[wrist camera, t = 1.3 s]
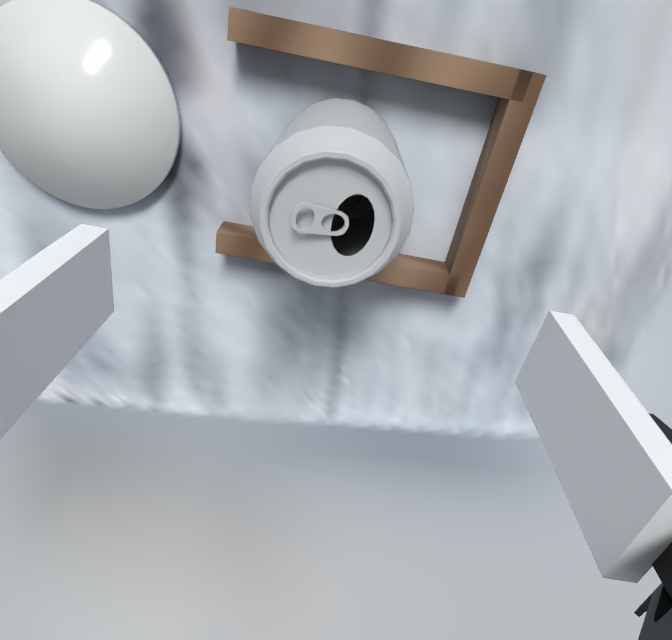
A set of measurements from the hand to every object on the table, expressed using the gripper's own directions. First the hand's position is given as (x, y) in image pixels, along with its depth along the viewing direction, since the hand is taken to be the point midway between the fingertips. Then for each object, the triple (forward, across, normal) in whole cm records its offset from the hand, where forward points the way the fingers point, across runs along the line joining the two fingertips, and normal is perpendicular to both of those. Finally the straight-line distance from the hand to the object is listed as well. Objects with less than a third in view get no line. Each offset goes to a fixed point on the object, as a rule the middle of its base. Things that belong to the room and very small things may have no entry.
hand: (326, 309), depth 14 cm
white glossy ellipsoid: (+19, -16, 0) cm, 25 cm away
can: (+19, 0, 0) cm, 19 cm away
